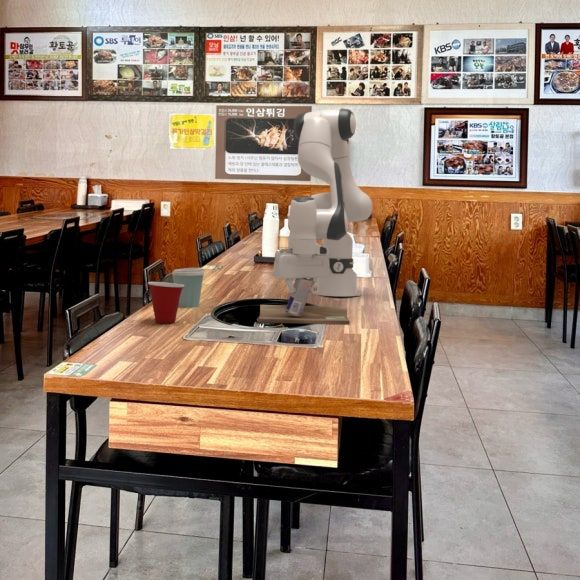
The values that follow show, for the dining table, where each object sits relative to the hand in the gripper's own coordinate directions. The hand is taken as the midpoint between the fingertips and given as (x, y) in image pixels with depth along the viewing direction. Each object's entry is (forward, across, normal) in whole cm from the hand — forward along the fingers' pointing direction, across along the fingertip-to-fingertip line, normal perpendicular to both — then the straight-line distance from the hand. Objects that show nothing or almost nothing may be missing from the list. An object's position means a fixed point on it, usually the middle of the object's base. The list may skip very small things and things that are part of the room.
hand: (301, 292), depth 207 cm
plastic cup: (+9, -39, +16) cm, 43 cm away
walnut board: (+9, 0, -1) cm, 9 cm away
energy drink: (+7, -2, +2) cm, 8 cm away
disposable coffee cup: (+9, -22, +34) cm, 41 cm away
